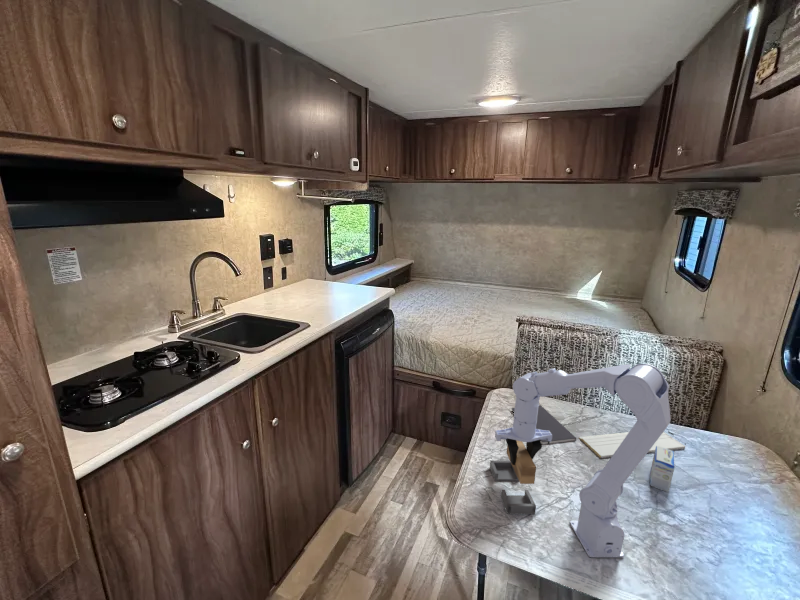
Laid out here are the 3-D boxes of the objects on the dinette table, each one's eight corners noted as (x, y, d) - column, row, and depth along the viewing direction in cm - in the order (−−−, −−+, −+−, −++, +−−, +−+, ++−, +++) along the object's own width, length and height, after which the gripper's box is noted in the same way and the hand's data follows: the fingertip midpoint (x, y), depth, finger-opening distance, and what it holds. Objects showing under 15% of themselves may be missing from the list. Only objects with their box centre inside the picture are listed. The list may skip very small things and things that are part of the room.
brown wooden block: (534, 483, 92) (536, 467, 91) (520, 483, 92) (522, 467, 91) (518, 453, 104) (520, 437, 103) (506, 453, 104) (508, 437, 103)
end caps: (535, 514, 91) (536, 506, 91) (507, 514, 91) (508, 506, 91) (513, 467, 108) (514, 460, 107) (489, 467, 108) (490, 460, 107)
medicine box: (650, 470, 108) (655, 444, 106) (668, 476, 105) (674, 450, 103) (649, 485, 102) (655, 459, 99) (669, 493, 99) (675, 466, 97)
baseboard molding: (575, 437, 124) (600, 460, 113) (577, 429, 123) (601, 452, 112) (653, 428, 129) (684, 450, 118) (655, 421, 129) (686, 442, 117)
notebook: (575, 442, 121) (540, 408, 142) (576, 437, 121) (540, 405, 141) (541, 446, 119) (510, 411, 139) (542, 442, 118) (510, 407, 139)
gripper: (546, 409, 98) (540, 452, 102) (493, 409, 98) (489, 452, 101) (557, 424, 91) (551, 470, 95) (501, 424, 91) (496, 470, 95)
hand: (520, 462), depth 98 cm, fingers closed on brown wooden block, 3 cm apart
